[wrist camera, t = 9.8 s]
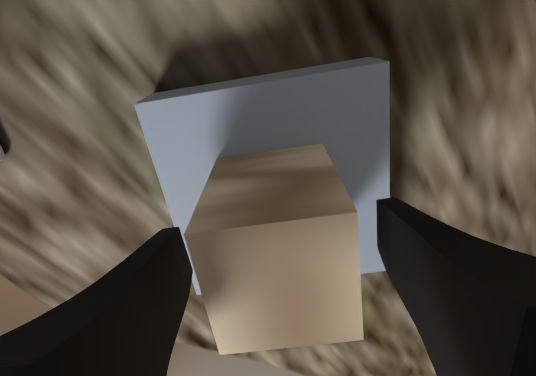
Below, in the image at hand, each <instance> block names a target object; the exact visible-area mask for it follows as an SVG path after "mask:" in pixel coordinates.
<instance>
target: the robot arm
mask: <svg viewBox="0 0 536 376" xmlns="http://www.w3.org/2000/svg"><path fill="white" fill-rule="evenodd" d="M3 158H4V151H3V149H2V147H1V145H0V161H1V160H3ZM376 207H377V248H378V251H379V254H380V256H381V259H382V262H383V264H384V267H385V269H386V272H387V274H388V275H389V277H390V279H391V281H392V283H393V285H394V287H395V289H396V290H397V292H398V294H399V296H400V298H401V300H402V301H403V303H404V305H405V307H406V309H407V311H408V312H409V314H410V316H411V318H412V320H413V322H414V323H415V325H416V327H417V330H418V332H419V334H420V336H421V338H422V340H423V343H424V345H425V348H426V350H427V352H428V355H429V357H430V360H431V362H432V364H433V367H434V369H435V372H436V375H437V376H536V257H535V256H532V255H528V254H525V253H521V252H518V251H514V250H511V249H508V248H505V247H502V246H499V245H496V244H493V243H491V242H488V241H485V240H482V239H480V238H477V237H474V236H472V235H469V234H467V233H465V232H463V231H460V230H458V229H456V228H454V227H451V226H449V225H447V224H445V223H443V222H441V221H439V220H437V219H435V218H433V217H431V216H429V215H427V214H425V213H423V212H421V211H420V210H418V209H416V208H414V207H412V206H410V205H409V204H407V203H405V202H403V201H401V200H399V199H397V198H394V197H392V198H385V199H378V200H376ZM192 274H193V269H192V266H191V263H190V260H189V257H188V253H187V250H186V247H185V244H184V241H183V238H182V235H181V231H180V228H179V227H172V228H165V229H162V230H160V231H159V232H158V233H156V234H155V235H154V236H152V237H151V238H150V239H149V240H148V241H146V242H145V243H144V244H143V245H142V246H140V247H139V248H138V249H137V250H136V251H134V252H133V253H132V254H131V255H130V256H128V257H127V258H126V259H125V260H124V261H122V262H121V263H120V264H118V265H117V266H116V267H115V268H113V269H112V270H111V271H109V272H108V273H107V274H105V275H104V276H103V277H102V278H100V279H99V280H97V281H96V282H95V283H93V284H92V285H90V286H89V287H87V288H86V289H84V290H83V291H81V292H80V293H78V294H77V295H75V296H74V297H72V298H70V299H69V300H67V301H65V302H64V303H62V304H60V305H58V306H57V307H55V308H53V309H51V310H50V311H48V312H46V313H44V314H43V315H41V316H39V317H37V318H36V319H34V320H32V321H30V322H28V323H26V324H24V325H22V326H20V327H18V328H16V329H14V330H12V331H10V332H8V333H5V334H3V335H1V336H0V376H166V375H167V369H168V364H169V360H170V357H171V353H172V349H173V346H174V343H175V340H176V336H177V333H178V330H179V327H180V324H181V320H182V317H183V314H184V311H185V307H186V304H187V301H188V297H189V293H190V287H191V281H192Z"/></svg>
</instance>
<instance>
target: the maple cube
mask: <svg viewBox="0 0 536 376" xmlns="http://www.w3.org/2000/svg"><path fill="white" fill-rule="evenodd" d="M184 237H185V240H186V244H187V247H188V250H189V254H190V257H191V260H192V264H193V267H194V270H195V274H196V277H197V280H198V284H199V287H200V290H201V294H202V297H203V300H204V304H205V307H206V310H207V314H208V317H209V320H210V324H211V327H212V330H213V334H214V337H215V341H216V344H217V347H218V351H219V354H220V355H224V354H234V353H243V352H252V351H262V350H271V349H281V348H290V347H300V346H309V345H319V344H328V343H337V342H347V341H356V340H363V320H362V298H361V276H360V254H359V232H358V212H357V210H356V208H355V206H354V204H353V202H352V200H351V198H350V196H349V194H348V192H347V190H346V188H345V186H344V184H343V182H342V180H341V179H340V177H339V175H338V173H337V171H336V169H335V167H334V165H333V163H332V161H331V159H330V157H329V155H328V153H327V151H326V149H325V147H324V145H323V143H321V144H314V145H307V146H300V147H293V148H286V149H279V150H272V151H265V152H258V153H251V154H244V155H237V156H231V157H224V158H217V159H216V161H215V164H214V166H213V168H212V170H211V173H210V175H209V177H208V180H207V182H206V184H205V187H204V189H203V191H202V194H201V196H200V198H199V201H198V203H197V205H196V207H195V210H194V212H193V214H192V217H191V219H190V221H189V224H188V226H187V228H186V231H185V233H184Z"/></svg>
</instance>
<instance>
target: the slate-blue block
mask: <svg viewBox="0 0 536 376" xmlns="http://www.w3.org/2000/svg"><path fill="white" fill-rule="evenodd" d="M134 106H135V109H136V112H137V115H138V118H139V121H140V124H141V127H142V130H143V133H144V136H145V139H146V142H147V145H148V148H149V151H150V154H151V157H152V161H153V164H154V167H155V170H156V173H157V176H158V179H159V182H160V185H161V188H162V191H163V194H164V197H165V200H166V203H167V206H168V209H169V212H170V215H171V218H172V221H173V224H174V227H179V228H180V231H181V235H182V238H183V241H184V244H185V247H186V250H187V253H188V257H189V260H190V263H191V266H192V269H193V274H192V282H193V285H194V288H195V291H196V294H197V295H201V290H200V287H199V284H198V280H197V277H196V274H195V270H194V267H193V264H192V260H191V257H190V254H189V250H188V247H187V244H186V240H185V237H184V233H185V231H186V228H187V226H188V224H189V221H190V219H191V217H192V214H193V212H194V210H195V207H196V205H197V203H198V201H199V198H200V196H201V194H202V191H203V189H204V187H205V184H206V182H207V180H208V177H209V175H210V173H211V170H212V168H213V166H214V164H215V161H216V159H217V158H224V157H231V156H237V155H244V154H251V153H258V152H265V151H272V150H279V149H286V148H293V147H300V146H307V145H314V144H321V143H323V145H324V147H325V149H326V151H327V153H328V155H329V157H330V159H331V161H332V163H333V165H334V167H335V169H336V171H337V173H338V175H339V177H340V179H341V180H342V182H343V184H344V186H345V188H346V190H347V192H348V194H349V196H350V198H351V200H352V202H353V204H354V206H355V208H356V210H357V212H358V232H359V254H360V274H363V273H371V272H379V271H386V269H385V267H384V264H383V262H382V259H381V256H380V254H379V251H378V248H377V207H376V200H378V199H385V198H390V61H386V60H382V59H378V58H374V57H365V58H359V59H353V60H347V61H341V62H335V63H330V64H324V65H318V66H312V67H306V68H300V69H294V70H288V71H282V72H276V73H270V74H264V75H258V76H252V77H246V78H240V79H234V80H228V81H222V82H217V83H211V84H205V85H199V86H193V87H187V88H181V89H175V90H169V91H163V92H157V93H153V94H151V95H149V96H147V97H146V98H144V99H142V100H140V101H139V102H137V103H135V104H134Z"/></svg>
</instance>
